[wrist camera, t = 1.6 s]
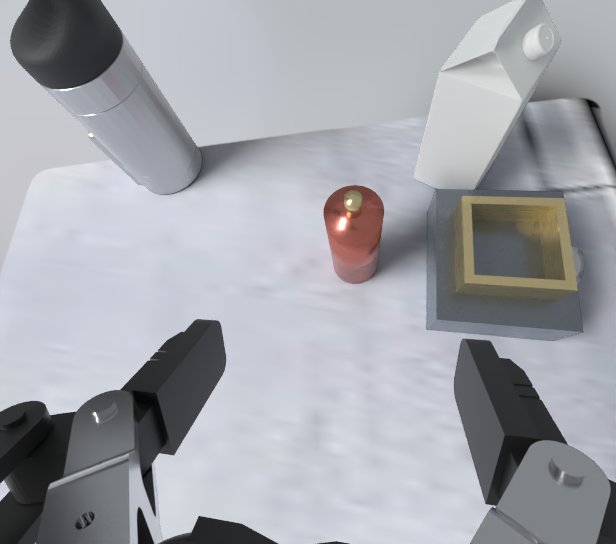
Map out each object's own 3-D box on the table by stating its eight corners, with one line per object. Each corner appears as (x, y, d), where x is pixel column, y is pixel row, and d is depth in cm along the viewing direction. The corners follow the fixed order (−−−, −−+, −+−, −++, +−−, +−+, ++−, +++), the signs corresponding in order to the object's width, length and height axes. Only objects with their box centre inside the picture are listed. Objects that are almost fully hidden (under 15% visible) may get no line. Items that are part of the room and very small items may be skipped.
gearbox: (426, 329, 36) (444, 312, 28) (427, 212, 40) (442, 171, 33) (565, 342, 33) (625, 326, 26) (549, 216, 38) (596, 173, 30)
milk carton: (412, 179, 42) (450, 22, 24) (440, 138, 43) (495, -38, 26) (466, 204, 40) (551, 52, 22) (494, 160, 41) (595, -16, 24)
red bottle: (331, 282, 39) (317, 225, 26) (335, 242, 41) (324, 170, 28) (375, 285, 38) (384, 228, 25) (378, 244, 40) (387, 171, 27)
